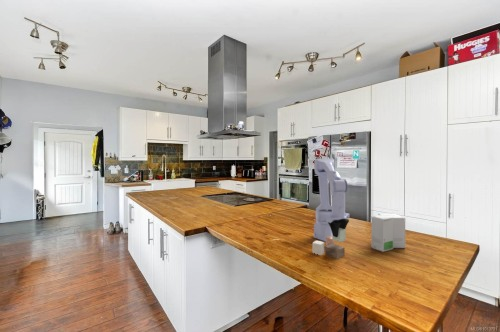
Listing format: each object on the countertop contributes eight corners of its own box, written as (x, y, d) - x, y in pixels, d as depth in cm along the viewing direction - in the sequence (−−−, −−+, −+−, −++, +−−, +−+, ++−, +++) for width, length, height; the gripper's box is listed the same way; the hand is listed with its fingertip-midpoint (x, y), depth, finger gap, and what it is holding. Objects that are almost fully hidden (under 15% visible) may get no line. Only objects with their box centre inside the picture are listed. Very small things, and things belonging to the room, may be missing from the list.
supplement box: (395, 241, 120) (395, 213, 120) (405, 248, 111) (406, 217, 111) (377, 241, 121) (377, 213, 120) (386, 248, 112) (386, 217, 111)
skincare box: (382, 252, 107) (383, 219, 106) (370, 247, 113) (370, 216, 112) (394, 249, 111) (394, 217, 110) (380, 244, 117) (381, 214, 116)
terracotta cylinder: (324, 246, 114) (324, 237, 114) (329, 245, 117) (329, 235, 116) (331, 249, 111) (331, 239, 111) (336, 247, 113) (336, 237, 113)
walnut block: (325, 255, 105) (325, 246, 105) (332, 251, 109) (332, 243, 109) (337, 259, 100) (337, 250, 100) (344, 255, 104) (344, 247, 104)
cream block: (312, 253, 107) (312, 242, 107) (316, 250, 110) (316, 240, 110) (320, 255, 105) (320, 244, 104) (324, 252, 108) (324, 242, 107)
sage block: (332, 239, 105) (332, 228, 105) (337, 237, 107) (337, 227, 107) (340, 242, 102) (340, 231, 101) (345, 240, 104) (345, 229, 104)
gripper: (336, 209, 97) (336, 241, 97) (355, 205, 105) (355, 234, 105) (322, 206, 103) (322, 236, 103) (341, 203, 111) (341, 230, 111)
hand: (338, 235), depth 105 cm, fingers closed on sage block, 4 cm apart
